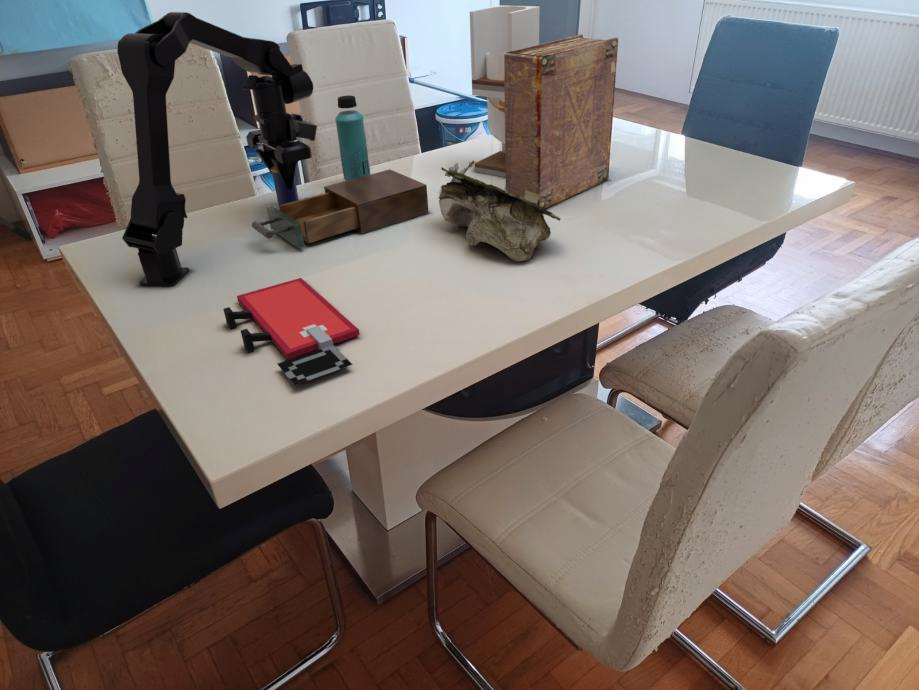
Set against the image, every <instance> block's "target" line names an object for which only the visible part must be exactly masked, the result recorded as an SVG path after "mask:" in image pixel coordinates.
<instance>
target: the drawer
mask: <svg viewBox="0 0 919 690" xmlns="http://www.w3.org/2000/svg"><path fill="white" fill-rule="evenodd" d="M266 212H267V216H268V219H267V220H263V221H260V222H259V221H254V220H253V222H251V228H252V229H254V230H255V231H257V233H259V234H261V235H262V236H263V237H264V238H266V239H269V240H270V239H273V237H274V236H276V235H279V236H281V237H282V238H283V239H285V240H286V241H288V242H289V243H291V244H292V245H293V246H295V247H296V248H297V249H301V248H305V242H306V243H308V244H310V243H311V244H312V243H314V242H317V241H320V240H324V239H328V238H330V237H334V236H337V235H340V234H344V233H346V232H349V231H353V230H354V229H357V228H360V226H359V219H358V211H357V206H355V205H353V204H351V203H349V202H347V201H345V200H344V199H342V198H340V197H338V196H336V195H334V194H332V193H330V192H327V193H325V192H323V193H319V194H316V195H312V196H309V197H305V198H300V199H299V200H297V201H293V202H290V203H286V204H282V205H279V206H278V209H277V208H276V207H275V206H273V205H270V206H267V207H266ZM267 225H269V227H270V229H271V230H269V229H268V228H267V227H265V226H267Z"/></svg>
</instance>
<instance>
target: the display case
mask: <svg viewBox="0 0 919 690" xmlns="http://www.w3.org/2000/svg"><path fill="white" fill-rule="evenodd" d="M540 9H541V6H538V5H537V6H535V5H533V6H532V5H499V4H498V5H494V6H488V7H484V8H479V9H476V10H475V9H474V10H471V11H469V35H470V37H469V39H470V67H471V68H470V69H471V96H475V97H485V98H486V103H487V104H486V106H487V129H488V131H489V133H490V134H491V136H492V137H494V138H495V139H496V140H497V141H499V142H501V150H499V151H497V152H495V153H493V154H490V155H488V156H487V157H485V158H483V159H480V160H478V161H475V162H474V164H473V166H474V172H475V173H480V174H486V175H491V176H495V177H502V178H506V174H505V79H504V54H505V53H507V52H511V51H515V50H519V49H523V48H527V47H532V46H536V45H540V11H541V10H540Z"/></svg>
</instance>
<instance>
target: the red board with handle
mask: <svg viewBox="0 0 919 690" xmlns="http://www.w3.org/2000/svg"><path fill="white" fill-rule="evenodd" d="M236 299H237V302H238V304H239V305H240V306H241V307H242V308H243V309H244V310H240V311H239V310H238V311H233V310H232V309H231V307H230V306H228V307H224V308H223V315H224V317H225V322H226V325H227V326H228V328H229V329H230V330H233V329H237V322H236V320H253V321H254V322H255V323H256V324H257V325H258V326H259V328H260V329H261V330H262V331H263V332H252V333H251V331H249V329H248V328H244V329H241V330H240V334H241V339H242V343H243V347H244V349H245V350H246V351H247V352H248V353H252V352H253V351H256V350H255V349H256V348H255V346H254V343H257V342H269V341H271V342H272V343H273V344H274V345H275V346H276V348H277V349H278V350H279V352H281V353H282V354H283V356H284V357H285V358H286V360H284V361H280V362H278V363H277V366H278V367H279V368H280V370H281V371H282V372H283V373H284V375H285V376H286V377H287V378H288V379H289V381H290V382H291V383H292V385H294V386H297V385H300V384H303V383H305V382H308V381H311V380H313V379H316V378H319V377H322V376H325V375H328V374H330V373H334V372H336V371H339V370H341V369H344V368H347V367H350V366H353V362H351V361H350V360H349V359H348V358H347V357H346V356H345V355H344V354H343V353H342V352H341V351H340V350H339V349H338V347H336V346H335V345H334V344H337V343H340V342H341V343H342V342H344V341H346V340H349V339H353V338H355V337H359V336H361V334H360V329H359V328H358V327H357V326H356V325H354V323H353V322H351V321H350V320H349V319H348V318H347V317H346V316H344V315H343V314H342V313H341V312H340V311H339V310H338V309H337V308H335V306H333V305H332V304H331V303H330V302H329V301H328V300H327V299H325V298H324V297H323V296H322V295H321V294H320V293H319V292H318V291H316V290H315V289H314V288H313V287H312V286H311V285H310V284H309V283H307V282H306V281H305V280H304V279H303V278H302V277H298V278H295V279H292V280H288V281H284V282H281V283H277V284H274V285H270V286H266V287H263V288H259V289H255V290H253V291H248V292H245V293H241V294H239V295H236Z"/></svg>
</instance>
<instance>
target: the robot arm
mask: <svg viewBox="0 0 919 690" xmlns="http://www.w3.org/2000/svg"><path fill="white" fill-rule="evenodd" d="M190 44H192V45H194V46H198V47H200V48H203V49H205V50H209V51H211V52H213V53H216V54H219V55H222V56H225V57H227V58H229V59H231V61H233V63H234V64H235V65H236V66H238V67H240V68H241V69H242V70H244V71H246V72H247V73H255V74H258V75H251V74H249V75H248V76H247V79H246V80H245V81H244V83H243V84H242V89H243V90H250V91H251V92H252V96H253V102H254V106H255V111H256V114H253V119H254V122H258V126H259V129H255V130H252V131H251V130H250V131H248V134H246V136H245V139H246V143H247V147H250V148H252V149H255V148H256V146H257V148H258V149H255V153H256V154H257V155H258V157H259V158H260V160H261V161H262V162H263V164H264V165H265V167H266V168H267V170H268V171H269V173H270V175H272V171H271V167H273V166H275V167H276V169H277V171H278V173H279V175H280V177H281V178H282V180H283V182H284V184H285V186H286V187H287V189H292V188H293V182H294V175H295V174H296V167H297V164H298V163H299V162H301V161H304V160H308V159H311V158H313V154H312V149H311V146H309V145H307V144H306V143H304V142H302V141H300V140H298V138H300V139H307V140H309V141H311V142H316V135H317V129H318V124H314V123H312V122H309V121H306V120H303V116H302V115H300V114H297V113H289V112H287V107H286V105H289V104H293V103H296V102H299V101H302V100H305V99H308V98H310V97H311V96H312V95H313V92H314V82H313V81H312V79H311V77H310V75H309V74H308V73H307V72H306V71H305V70H304V69H303V64H302V63H292V64H291V63H290V61H288V59H287V58H286V57H285V55H284V54H283V52H282V51H281V48H280V47H281V46H280V45H279V44H278V43H277V42H275V41H273V40H267V39H262V38H261V39H260V38H251V37H247V36H246V37H245V36H241V35H240V34H237V33H235V32H232V31H230V30H227V29H225V28H222V27H220V26H217V25H215V24H214V23H213V24H212V23H210V22H208V21H205V20H203V19H201V18H199V17H196V16H194V15H193V14H192V13H190V12H184V11H183V12H182V11H181V12H180V11H179V12H178V11H170V12H167V13H166V14H164V15H163V16H162V17H160V18H159V19H158V20H156V21H154V22H152V23H150V24H148V25H145V26H144V27H142V28H139V29H138V30H137V31H135V32H132V33H131V32H130V33H126V34H124V35H123V36H122V37H121V38H120V39H119V40H118V42H117V48H116V49H117V56H118V60H119V65H120V70H121V74H122V76H123V78H124V79H125V81H126V82H127V84H128V86H129V89H130V90H131V93H132V101H133V113H134V126H135V127H134V128H135V141H136V153H137V154H136V155H137V168H138V184H137V187H136V188H135V190H134V193H133V195H132V197H131V205H130V219H129V220H128V224H127V225H126V228H125V230H124V233H123V234H122V238H121V239H122V240H123V242H124V243H125V244H126V246H127V247H128V248H134V249H137V250H138V251H137V256H138V259H139V262H140V266H141V268H142V272H143V274H144V277H143V278H142V279H141V280H140V281H139V282H138V283H139V286H152V287H153V286H154V287H157V286H158V287H173V286H175V285H176V284H177V283H178V282H180V280H181V279H182V278H183V277H184V276H186V275H187V274H188V273H189V272H190V267H187V266H186V267H184V266H183V267H182V264H181V260H180V258H179V253H178V251H177V248H179V247H182V246H183V231H184V230H183V229H184V227H185V219H187V218H188V215H187V213H186V199H187V198H186V196H185V194H184V193H180V192H176V190H175V188H174V186H173V184H172V176H171V159H170V143H169V142H170V141H169V128H168V110H167V94H168V92H169V89H170V87H171V85H172V82H173V80H174V78H175V71H176V61H177V60H178V59H179V58H180V57H181V56H183V55H184V54H185V53H186V52H187V50H188V47H189V45H190ZM259 75H262V76H259Z"/></svg>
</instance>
